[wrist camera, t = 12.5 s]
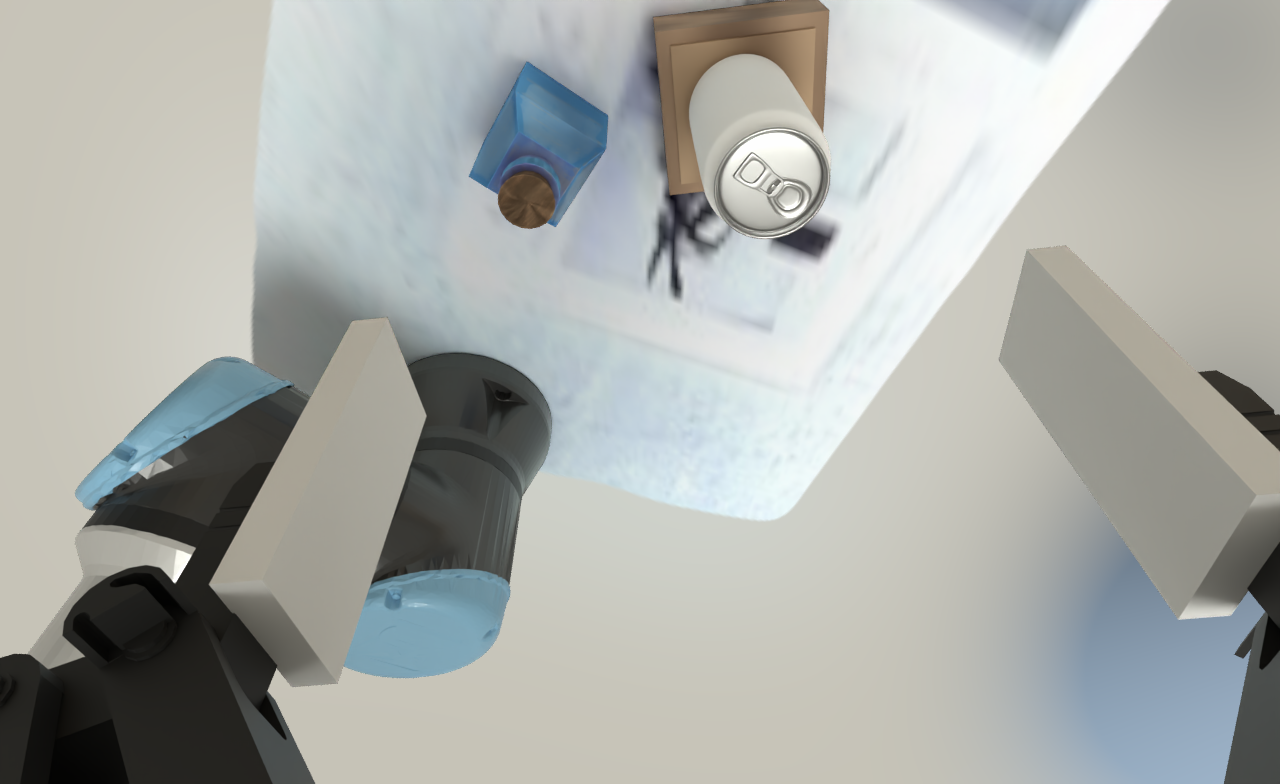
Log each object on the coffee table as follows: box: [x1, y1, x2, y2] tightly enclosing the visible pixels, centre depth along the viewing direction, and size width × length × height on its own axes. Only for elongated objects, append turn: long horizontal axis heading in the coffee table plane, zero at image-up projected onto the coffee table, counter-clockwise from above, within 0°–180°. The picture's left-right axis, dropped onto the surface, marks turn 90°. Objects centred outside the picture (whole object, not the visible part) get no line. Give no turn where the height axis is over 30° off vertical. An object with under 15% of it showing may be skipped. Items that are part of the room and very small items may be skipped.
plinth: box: [653, 0, 829, 195], centre depth 46 cm, size 10×10×4 cm
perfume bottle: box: [469, 62, 608, 229], centre depth 44 cm, size 6×6×12 cm
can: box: [689, 54, 831, 239], centre depth 39 cm, size 6×6×12 cm
